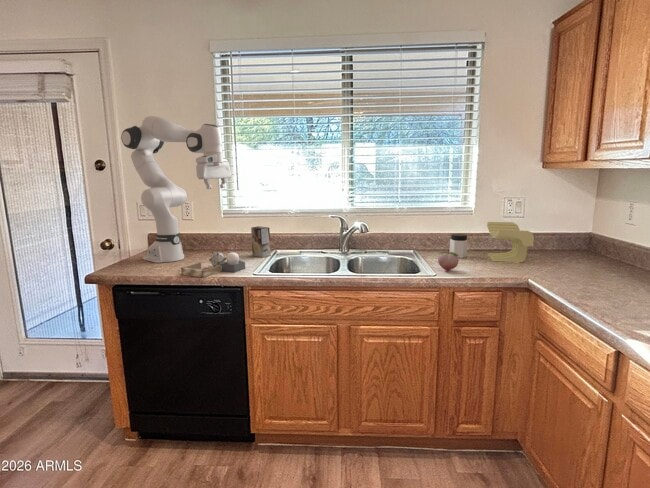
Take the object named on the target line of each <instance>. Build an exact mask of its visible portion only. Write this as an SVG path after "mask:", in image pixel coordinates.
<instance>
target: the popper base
mask: <svg viewBox="0 0 650 488" xmlns="http://www.w3.org/2000/svg"><path fill="white" fill-rule="evenodd" d="M245 269H246V261H243V260H239V263H238V264H235V265H232V264H228V262H227V261H225V262H224V263H221V272H231V273H236V272H240V271H242V270H245Z"/></svg>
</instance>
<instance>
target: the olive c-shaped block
mask: <svg viewBox="0 0 650 488" xmlns="http://www.w3.org/2000/svg"><path fill="white" fill-rule="evenodd" d="M486 225H487V226H486V227H487V230H488V233H489V235H490V236H491V237H492V238H493V239H497V240H498V239H499V240H509V241H511V244H512V245H511V246H512V248H511V250H510V251H507V252H498V253H497V252H496V253H495V252H494V253H493V252H489V253H488V254H487V257H488V256H489V257H490V258H491V259H490V258H489V257H488V258H489V259H490V260H491V262H492V261H513V262H521V263H523V262H524V261H525V260H526V258H527V255H528V248H529V247H534V244H535V243H534V240H535V237H534V234H533V233H532V232H531V231H529V230H521V229H520V228H519V225H518V224H517V223H515V222H510V221H487V224H486Z"/></svg>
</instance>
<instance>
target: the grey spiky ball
mask: <svg viewBox="0 0 650 488" xmlns="http://www.w3.org/2000/svg"><path fill="white" fill-rule="evenodd" d="M226 261H227V257H225V255H224V253H223V250H221V251H218V252H214V251H211V256H210V258H209V259H208V262H210V263H211V265H212V267H215V266H218V265H221V263H224V262H226Z"/></svg>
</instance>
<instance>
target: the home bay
mask: <svg viewBox="0 0 650 488" xmlns="http://www.w3.org/2000/svg"><path fill="white" fill-rule="evenodd" d="M180 271H181V272H180V273H181V275H184V276H186V275H187V276H191V277H192V276H193V277H199V278H206V277H210V276H212V275H215V274H218V273H220V272H222V270H221V265H218V266H215V267H213V266H212V267H210V268H206V269H203V270H202V262H196V263H193V264H189V265H186V266H182V267H180Z"/></svg>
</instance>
